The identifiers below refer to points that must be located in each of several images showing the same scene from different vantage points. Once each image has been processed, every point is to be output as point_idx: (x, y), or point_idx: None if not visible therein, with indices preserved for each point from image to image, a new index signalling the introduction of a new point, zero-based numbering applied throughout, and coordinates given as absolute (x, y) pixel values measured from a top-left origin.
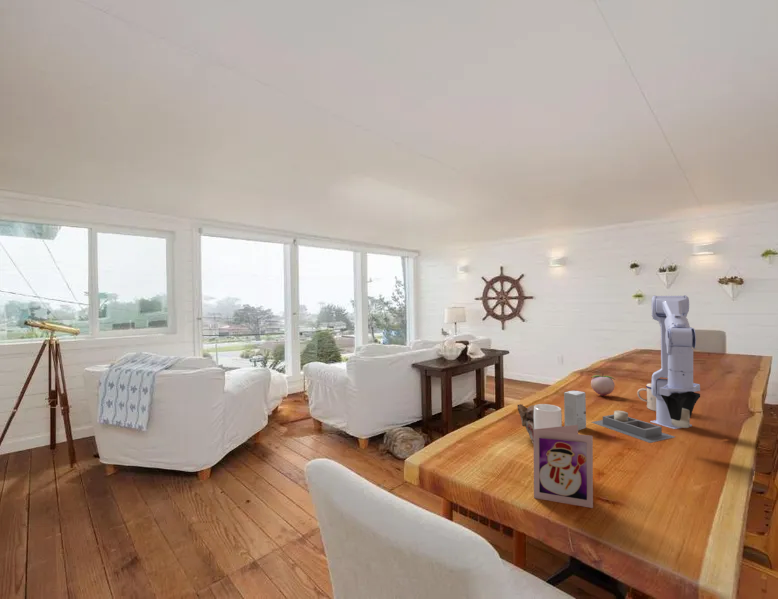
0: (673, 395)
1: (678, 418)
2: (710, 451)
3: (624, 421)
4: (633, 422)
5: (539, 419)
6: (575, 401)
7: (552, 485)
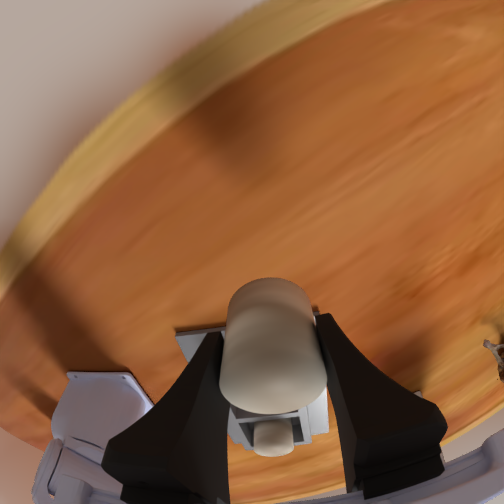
0: (435, 458)
1: (334, 321)
2: (149, 223)
3: (278, 421)
4: (259, 414)
5: None
6: (443, 457)
7: None
